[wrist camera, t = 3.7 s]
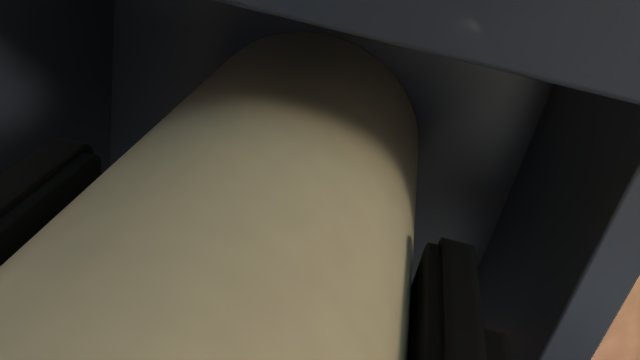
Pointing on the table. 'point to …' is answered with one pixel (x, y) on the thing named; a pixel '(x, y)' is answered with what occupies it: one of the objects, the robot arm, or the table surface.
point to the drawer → (433, 155)
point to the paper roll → (238, 224)
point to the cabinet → (497, 35)
